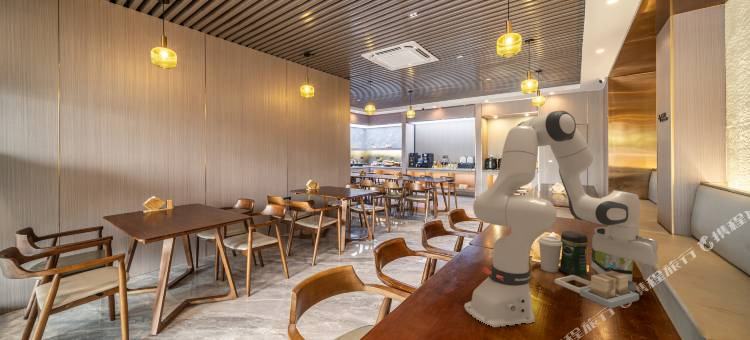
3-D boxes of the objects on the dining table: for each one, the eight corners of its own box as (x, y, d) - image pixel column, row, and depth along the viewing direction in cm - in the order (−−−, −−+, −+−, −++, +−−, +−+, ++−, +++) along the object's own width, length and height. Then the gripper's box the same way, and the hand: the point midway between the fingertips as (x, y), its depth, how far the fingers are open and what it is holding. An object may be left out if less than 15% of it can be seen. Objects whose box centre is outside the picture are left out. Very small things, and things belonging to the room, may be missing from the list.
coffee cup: (566, 275, 127) (567, 241, 127) (544, 275, 128) (545, 241, 127) (553, 267, 137) (554, 235, 136) (533, 267, 137) (534, 235, 137)
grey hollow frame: (610, 311, 98) (610, 302, 98) (580, 297, 107) (580, 289, 107) (638, 302, 104) (639, 294, 104) (607, 290, 113) (607, 282, 113)
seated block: (605, 303, 101) (606, 281, 100) (590, 297, 105) (591, 275, 105) (614, 301, 103) (615, 278, 102) (599, 295, 107) (600, 273, 107)
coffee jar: (590, 277, 126) (592, 234, 125) (576, 279, 124) (578, 235, 123) (569, 268, 135) (571, 229, 134) (556, 270, 133) (557, 230, 132)
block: (627, 297, 105) (628, 275, 105) (618, 300, 104) (619, 277, 103) (611, 291, 110) (612, 270, 110) (603, 293, 108) (604, 272, 108)
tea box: (633, 283, 120) (634, 247, 119) (603, 279, 123) (605, 245, 122) (616, 269, 134) (617, 238, 133) (590, 267, 137) (591, 236, 137)
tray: (579, 296, 109) (580, 289, 108) (554, 285, 118) (554, 278, 118) (598, 291, 113) (599, 284, 113) (572, 280, 122) (573, 274, 122)
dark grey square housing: (624, 296, 108) (625, 286, 108) (604, 288, 115) (604, 278, 114) (636, 293, 111) (636, 283, 111) (615, 285, 117) (615, 276, 117)
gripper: (663, 239, 103) (661, 278, 103) (600, 226, 122) (598, 259, 122) (652, 240, 100) (650, 280, 101) (590, 227, 119) (588, 261, 120)
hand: (621, 268), depth 112 cm, fingers closed
